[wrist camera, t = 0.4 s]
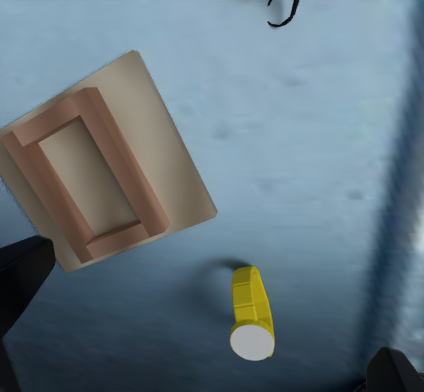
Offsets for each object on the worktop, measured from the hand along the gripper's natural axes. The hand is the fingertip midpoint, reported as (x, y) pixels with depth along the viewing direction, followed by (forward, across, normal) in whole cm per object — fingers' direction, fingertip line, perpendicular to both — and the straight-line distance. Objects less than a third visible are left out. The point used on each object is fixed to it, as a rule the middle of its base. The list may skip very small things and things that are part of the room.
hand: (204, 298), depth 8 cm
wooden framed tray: (+13, +11, +6) cm, 18 cm away
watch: (+13, -3, +12) cm, 18 cm away
